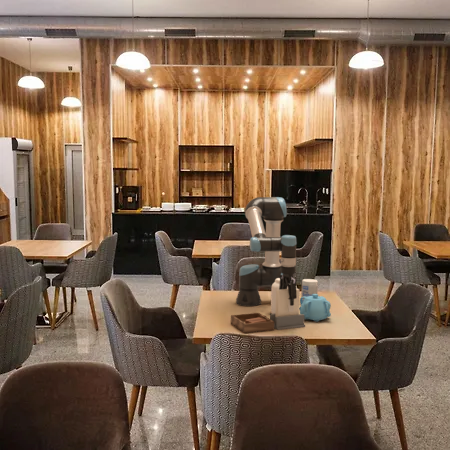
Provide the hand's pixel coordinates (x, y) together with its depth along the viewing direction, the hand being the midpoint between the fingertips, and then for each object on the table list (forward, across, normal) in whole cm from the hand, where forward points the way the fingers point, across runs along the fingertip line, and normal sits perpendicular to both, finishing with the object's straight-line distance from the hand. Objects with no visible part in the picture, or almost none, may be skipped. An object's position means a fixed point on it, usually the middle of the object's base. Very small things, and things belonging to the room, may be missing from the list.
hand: (287, 309), depth 269 cm
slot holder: (+9, 0, 0) cm, 9 cm away
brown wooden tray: (+9, -4, -18) cm, 20 cm away
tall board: (+8, 0, 0) cm, 8 cm away
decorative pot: (+9, -7, +21) cm, 24 cm away
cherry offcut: (+6, -1, -18) cm, 18 cm away
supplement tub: (+9, -36, +35) cm, 51 cm away
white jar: (+9, -22, +9) cm, 25 cm away
